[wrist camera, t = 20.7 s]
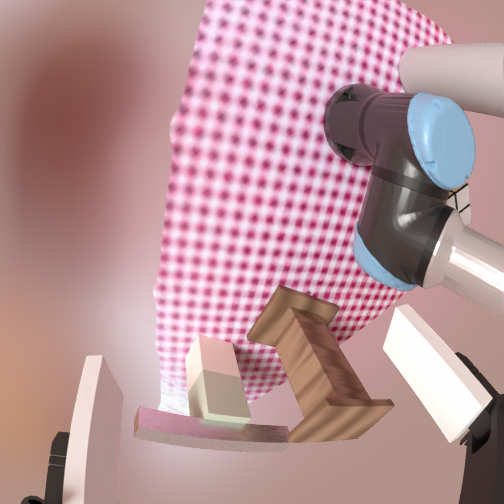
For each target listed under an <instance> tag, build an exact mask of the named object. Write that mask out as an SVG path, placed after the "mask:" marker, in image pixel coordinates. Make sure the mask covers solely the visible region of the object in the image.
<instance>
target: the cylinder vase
mask: <svg viewBox="0 0 504 504" xmlns="http://www.w3.org/2000/svg"><path fill="white" fill-rule="evenodd" d="M399 76H400V80H401V83H402V86H403V88H404V90H405V91H406V93H430V94H432V95H436V96H443V97H446V98H449V99H451V100H452V101H454V102H455V103H456V104H458V105H459V106H460V107H461V109H462V110H466V111H472V112H477V113H483V114H488V115H493V116H497V117H502V118H504V43H460V44H444V45H433V46H424V47H415V48H410V49H408V50H406V51H405V52H404V53H403V55H402V56H401V59H400V62H399Z"/></svg>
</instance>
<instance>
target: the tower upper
mask: <svg viewBox="0 0 504 504" xmlns="http://www.w3.org/2000/svg"><path fill="white" fill-rule="evenodd" d="M188 399H189V410H190V417H196V418H202V419H209V420H216V421H224V422H233V423H243V424H247V422H248V421H249V420H250V419H251V415H250V411H249V408H248V403H247V400H246V396H245V392H244V388H243V384H242V380H241V377H237V376H232V375H227V374H222V373H217V372H212V371H208V370H203V369H202V371H201V373H200V374H199V376H198V378H197V379H196V381H195V383H194V384H193V386H192V387H191V389H190V391H189V392H188Z"/></svg>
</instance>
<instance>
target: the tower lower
mask: <svg viewBox="0 0 504 504" xmlns="http://www.w3.org/2000/svg"><path fill="white" fill-rule="evenodd" d="M185 362H186V376H187V388H188V392H189V391H190V389H191V387H192V386H193V384H194V383H195V381H196V379H197V378H198V376H199V374H200V373H201V371H202V369H203V370H208V371H212V372H217V373H222V374H227V375H232V376H237V377H241V376H240V372H239V368H238V364H237V360H236V356H235V352H234V348H233V344H232V343H230V342H226V341H222V340H218V339H214V338H210V337H207V336H203V335H199V334H198V336H197V338H196V340H195V341H194V343H193V345H192V347H191V349H190V351H189V353H188V355H187V356H186V358H185Z"/></svg>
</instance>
